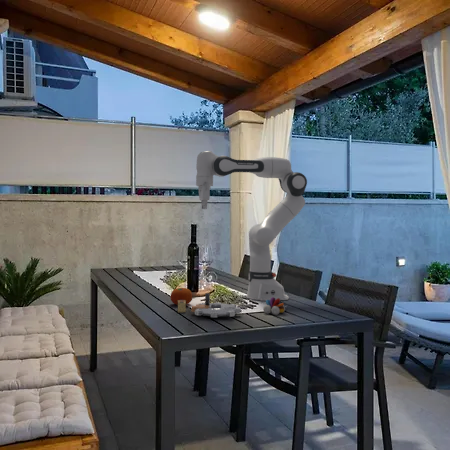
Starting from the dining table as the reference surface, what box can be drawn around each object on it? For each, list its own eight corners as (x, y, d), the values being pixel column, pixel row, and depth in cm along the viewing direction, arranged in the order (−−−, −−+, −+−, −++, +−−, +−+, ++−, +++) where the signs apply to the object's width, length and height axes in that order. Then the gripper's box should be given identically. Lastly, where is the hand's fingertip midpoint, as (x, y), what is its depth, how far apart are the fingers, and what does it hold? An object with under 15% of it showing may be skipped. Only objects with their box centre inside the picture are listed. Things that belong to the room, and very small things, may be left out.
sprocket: (237, 306, 224) (237, 291, 224) (243, 317, 202) (244, 300, 202) (190, 306, 222) (190, 291, 222) (192, 317, 200) (192, 300, 200)
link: (185, 309, 223) (185, 299, 223) (185, 312, 217) (185, 302, 217) (177, 309, 222) (177, 299, 222) (177, 312, 216) (178, 302, 216)
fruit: (182, 301, 241) (183, 286, 241) (196, 305, 233) (196, 288, 233) (165, 304, 233) (166, 288, 233) (179, 308, 226) (179, 291, 226)
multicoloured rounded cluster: (279, 316, 213) (279, 300, 213) (260, 313, 218) (260, 297, 218) (287, 313, 220) (287, 297, 220) (268, 310, 225) (269, 295, 225)
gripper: (212, 181, 239) (212, 209, 240) (208, 183, 260) (208, 209, 260) (200, 181, 239) (199, 209, 239) (197, 183, 259) (196, 208, 259)
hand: (204, 209), depth 250 cm, fingers open, 8 cm apart
